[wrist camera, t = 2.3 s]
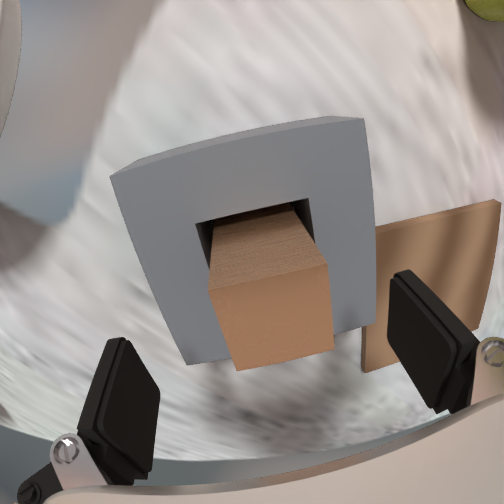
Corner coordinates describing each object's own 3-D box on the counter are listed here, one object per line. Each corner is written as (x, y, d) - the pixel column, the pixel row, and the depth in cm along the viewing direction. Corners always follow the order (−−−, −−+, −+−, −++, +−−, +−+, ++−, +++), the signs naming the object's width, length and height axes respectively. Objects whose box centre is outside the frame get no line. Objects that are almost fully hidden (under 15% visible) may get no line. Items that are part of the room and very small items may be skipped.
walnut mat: (494, 199, 20) (501, 202, 19) (473, 323, 26) (478, 328, 25) (359, 230, 21) (364, 236, 20) (361, 366, 27) (364, 373, 26)
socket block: (330, 115, 17) (364, 118, 13) (349, 282, 22) (375, 322, 18) (137, 159, 17) (109, 176, 13) (192, 317, 23) (186, 365, 18)
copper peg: (279, 189, 19) (327, 263, 10) (289, 246, 21) (334, 349, 12) (216, 203, 19) (207, 290, 10) (231, 259, 21) (236, 371, 12)
